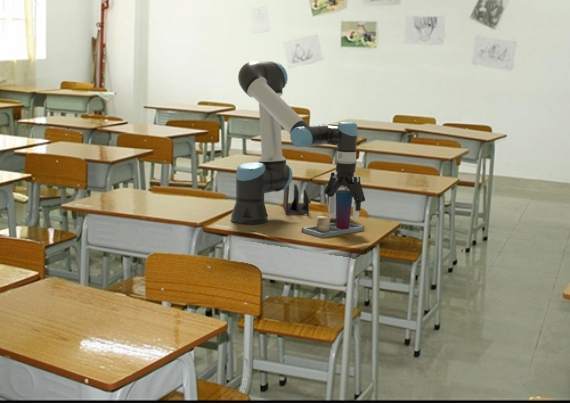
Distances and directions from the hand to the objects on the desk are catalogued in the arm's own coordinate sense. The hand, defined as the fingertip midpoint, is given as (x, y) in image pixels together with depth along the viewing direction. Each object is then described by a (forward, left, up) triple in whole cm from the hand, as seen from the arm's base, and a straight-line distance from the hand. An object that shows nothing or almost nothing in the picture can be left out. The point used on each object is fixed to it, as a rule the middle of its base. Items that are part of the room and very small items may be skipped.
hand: (343, 215), depth 314 cm
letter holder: (-41, +12, -7) cm, 44 cm away
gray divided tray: (0, -5, -6) cm, 8 cm away
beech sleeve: (0, -11, -6) cm, 12 cm away
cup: (0, 0, -5) cm, 5 cm away
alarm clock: (-16, +14, -7) cm, 22 cm away
